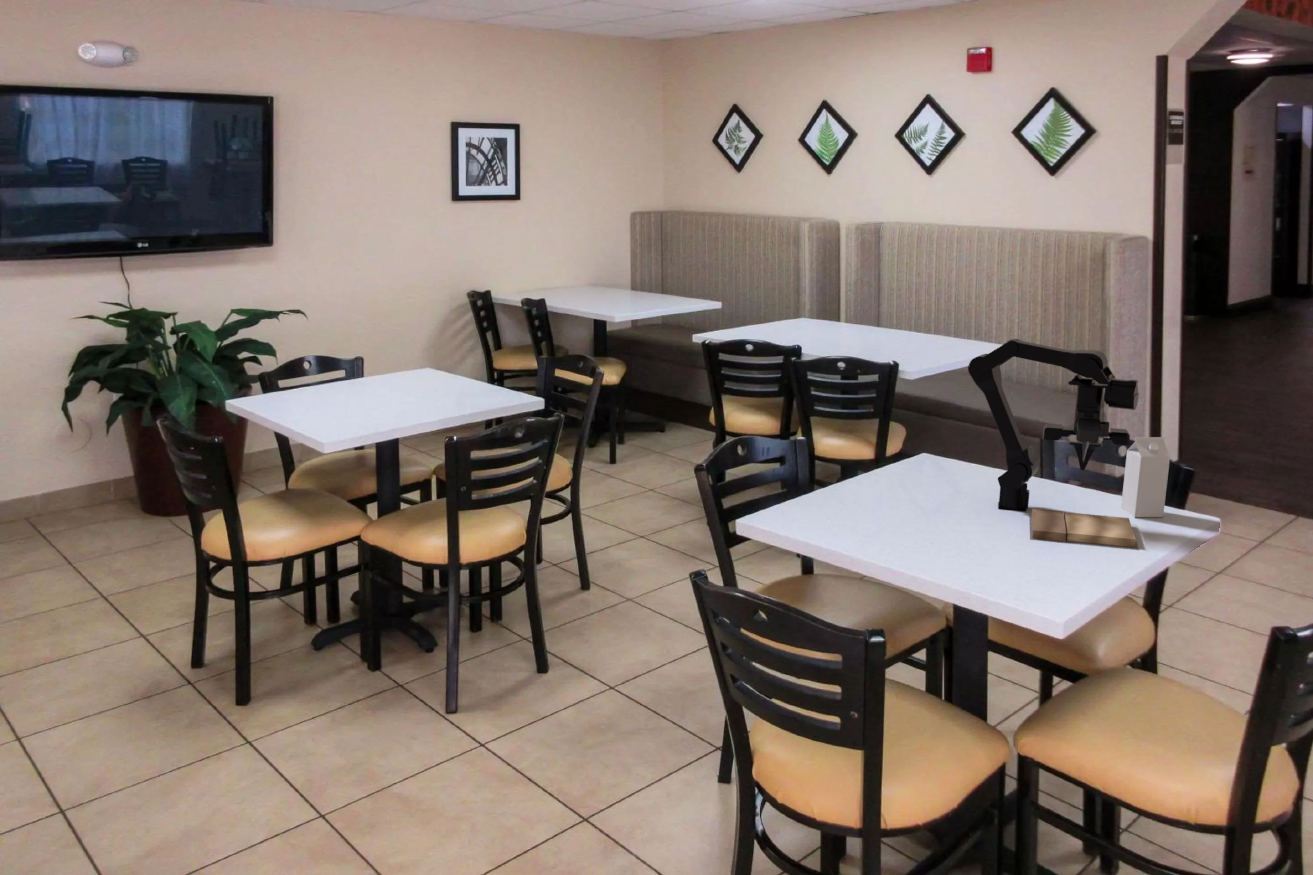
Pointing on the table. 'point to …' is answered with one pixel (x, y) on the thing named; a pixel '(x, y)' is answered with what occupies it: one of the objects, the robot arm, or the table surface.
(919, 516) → the table surface
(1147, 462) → the milk carton
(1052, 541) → the underlay mat
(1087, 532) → the oak plank
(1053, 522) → the walnut plank
